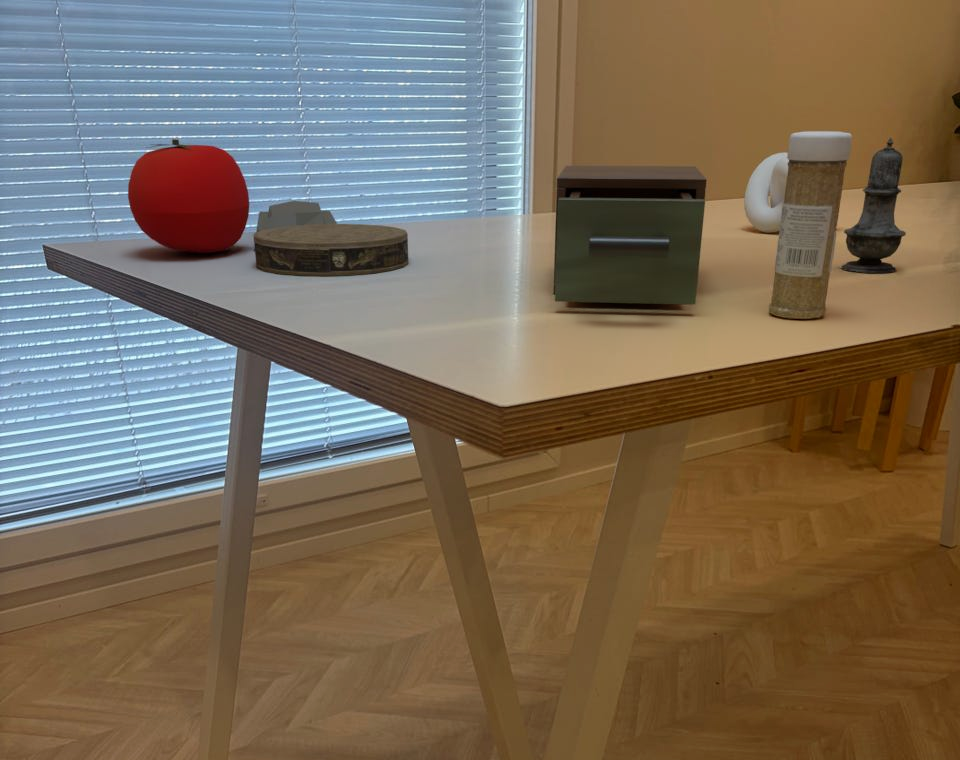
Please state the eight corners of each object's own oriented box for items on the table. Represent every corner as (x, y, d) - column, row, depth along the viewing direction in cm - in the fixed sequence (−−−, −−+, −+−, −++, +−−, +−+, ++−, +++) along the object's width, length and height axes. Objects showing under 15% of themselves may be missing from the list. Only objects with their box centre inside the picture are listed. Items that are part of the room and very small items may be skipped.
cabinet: (695, 297, 91) (706, 179, 86) (553, 294, 92) (556, 177, 88) (686, 271, 104) (696, 166, 99) (561, 268, 105) (565, 165, 100)
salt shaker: (872, 275, 101) (896, 140, 95) (825, 267, 105) (845, 137, 100) (911, 270, 104) (936, 138, 98) (864, 262, 108) (885, 136, 102)
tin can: (247, 256, 112) (244, 227, 111) (388, 249, 117) (387, 221, 115) (267, 279, 99) (263, 246, 98) (425, 271, 103) (425, 239, 102)
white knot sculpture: (730, 234, 128) (738, 155, 124) (751, 224, 138) (760, 150, 133) (823, 239, 124) (835, 157, 120) (838, 228, 133) (850, 152, 129)
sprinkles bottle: (834, 314, 84) (863, 131, 78) (810, 322, 81) (838, 133, 75) (782, 307, 87) (806, 130, 80) (757, 315, 84) (779, 132, 77)
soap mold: (254, 250, 116) (250, 217, 114) (256, 228, 133) (253, 199, 132) (345, 248, 118) (343, 215, 116) (336, 227, 135) (334, 198, 133)
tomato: (280, 252, 115) (270, 138, 110) (173, 266, 107) (156, 143, 101) (218, 241, 123) (205, 135, 117) (112, 254, 114) (94, 139, 109)
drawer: (699, 316, 79) (709, 207, 75) (551, 312, 80) (554, 205, 76) (686, 277, 95) (694, 185, 91) (563, 274, 96) (566, 184, 92)
